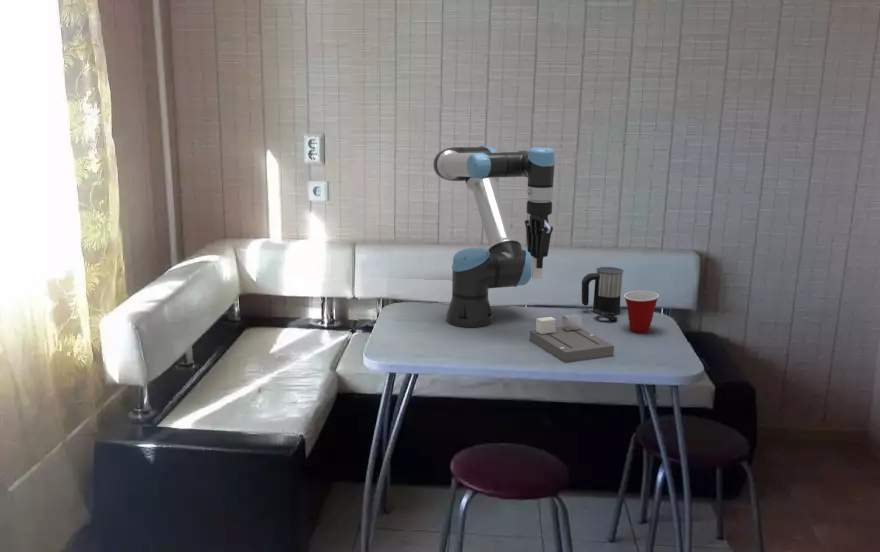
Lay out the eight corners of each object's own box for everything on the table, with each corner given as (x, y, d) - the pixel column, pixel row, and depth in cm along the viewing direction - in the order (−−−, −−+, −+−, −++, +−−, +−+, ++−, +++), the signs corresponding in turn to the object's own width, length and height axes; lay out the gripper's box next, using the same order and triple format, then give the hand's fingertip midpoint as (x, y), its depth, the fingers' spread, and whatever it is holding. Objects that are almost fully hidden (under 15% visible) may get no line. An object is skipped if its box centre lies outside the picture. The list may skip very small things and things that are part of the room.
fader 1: (535, 331, 247) (536, 318, 246) (550, 329, 249) (551, 316, 248) (540, 334, 244) (541, 321, 243) (555, 332, 246) (556, 319, 245)
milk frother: (610, 306, 285) (612, 265, 282) (638, 319, 272) (642, 275, 268) (575, 311, 280) (578, 269, 276) (603, 324, 266) (606, 280, 262)
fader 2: (561, 327, 250) (562, 315, 249) (575, 326, 252) (576, 313, 251) (567, 330, 248) (567, 318, 247) (581, 329, 250) (581, 316, 249)
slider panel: (529, 339, 249) (529, 330, 249) (574, 334, 255) (575, 324, 255) (565, 362, 231) (565, 352, 230) (613, 355, 237) (614, 345, 236)
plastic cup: (618, 324, 265) (621, 289, 262) (652, 325, 265) (655, 290, 262) (623, 335, 255) (626, 298, 252) (659, 336, 254) (662, 299, 251)
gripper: (517, 197, 248) (514, 273, 254) (539, 204, 236) (536, 284, 242) (539, 196, 251) (536, 271, 257) (562, 203, 239) (558, 281, 244)
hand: (536, 277), depth 249 cm, fingers closed
